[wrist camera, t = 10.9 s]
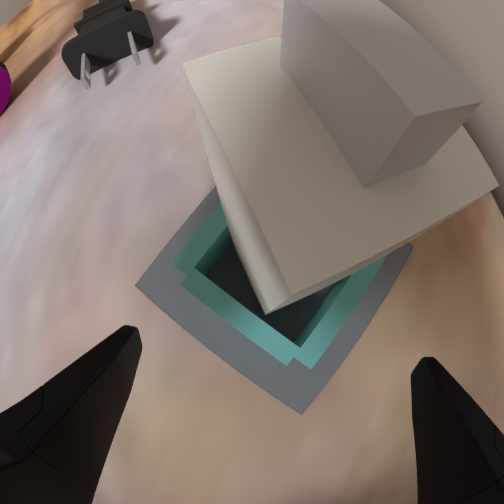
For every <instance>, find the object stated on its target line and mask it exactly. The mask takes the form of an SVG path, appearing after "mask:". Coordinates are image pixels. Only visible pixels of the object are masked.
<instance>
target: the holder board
mask: <svg viewBox="0 0 504 504" xmlns="http://www.w3.org/2000/svg"><path fill="white" fill-rule="evenodd" d="M412 249H413V246H412V245H411V244H410V243H407V244H405V245H403V246H401V247H400V248H398V249H396V250H394V251H393V252H391V253H389V254H387V255H386V256H384V257H382V258H380V259H378V260H377V261H375V262H373V263H371V264H369V265H367V266H366V267H364V268H362V269H360V270H358V271H356V272H354V273H353V274H351V275H349V276H347V277H345V278H343V279H341V280H339V281H337V282H336V283H334V284H332V285H330V286H328V287H326V288H324V289H321V290H319V291H317V292H315V293H313V294H311V295H309V296H307V297H305V298H302V299H300V300H298V301H296V302H294V303H292V304H289V305H287V306H285V307H283V308H281V309H278V310H276V311H274V312H272V313H269V314H267V315H265V316H264V314H263V312H262V310H261V307H260V305H259V303H258V301H257V298H256V296H255V294H254V291H253V289H252V287H251V285H250V282H249V280H248V278H247V276H246V273H245V271H244V269H243V266H242V264H241V262H240V260H239V257H238V255H237V253H236V250H235V248H234V244H233V241H232V238H231V234H230V231H229V228H228V225H227V221H226V218H225V215H224V211H223V208H222V205H221V201H220V198H219V194H218V191H217V188H216V186H215V187H214V189H213V190H212V191H211V192H210V193H209V194H208V195H207V197H206V198H205V199H204V200H203V201H202V202H201V204H200V205H199V206H198V207H197V208H196V210H195V211H194V212H193V213H192V214H191V215H190V217H189V218H188V219H187V220H186V221H185V223H184V224H183V225H182V226H181V228H180V229H179V230H178V231H177V232H176V234H175V235H174V236H173V237H172V239H171V240H170V241H169V242H168V244H167V245H166V246H165V247H164V249H163V250H162V251H161V252H160V254H159V255H158V256H157V257H156V259H155V260H154V261H153V262H152V264H151V265H150V266H149V268H148V269H147V270H146V272H145V273H144V274H143V275H142V277H141V278H140V279H139V281H138V282H137V283H136V285H135V286H136V287H137V288H138V289H139V290H140V291H141V292H142V293H143V294H144V295H146V296H147V297H148V298H149V299H150V300H151V301H152V302H153V303H154V304H156V305H157V306H158V307H159V308H160V309H161V310H162V311H164V312H165V313H166V314H167V315H168V316H169V317H171V318H172V319H173V320H174V321H175V322H176V323H178V324H179V325H180V326H181V327H182V328H184V329H185V330H186V331H187V332H188V333H190V334H191V335H192V336H193V337H194V338H196V339H197V340H198V341H199V342H201V343H202V344H203V345H204V346H206V347H207V348H208V349H209V350H211V351H212V352H213V353H215V354H216V355H217V356H218V357H220V358H221V359H222V360H224V361H225V362H226V363H228V364H229V365H230V366H232V367H233V368H234V369H236V370H237V371H238V372H240V373H241V374H242V375H244V376H245V377H247V378H248V379H249V380H251V381H252V382H254V383H255V384H256V385H258V386H259V387H261V388H262V389H263V390H265V391H266V392H268V393H269V394H271V395H272V396H274V397H275V398H277V399H278V400H280V401H281V402H283V403H284V404H286V405H287V406H289V407H290V408H292V409H293V410H295V411H296V412H298V413H299V414H301V415H302V414H303V413H304V412H305V411H306V409H307V408H308V407H309V406H310V404H311V403H312V402H313V401H314V399H315V398H316V397H317V396H318V394H319V393H320V392H321V391H322V389H323V388H324V387H325V386H326V384H327V383H328V382H329V380H330V379H331V378H332V376H333V375H334V374H335V372H336V371H337V370H338V368H339V367H340V365H341V364H342V363H343V361H344V360H345V359H346V357H347V356H348V354H349V353H350V351H351V350H352V349H353V347H354V346H355V344H356V343H357V341H358V340H359V338H360V337H361V335H362V334H363V332H364V331H365V329H366V328H367V326H368V325H369V323H370V322H371V320H372V318H373V317H374V315H375V314H376V312H377V310H378V309H379V307H380V306H381V304H382V302H383V301H384V299H385V297H386V296H387V294H388V292H389V291H390V289H391V287H392V285H393V284H394V282H395V280H396V278H397V277H398V275H399V273H400V271H401V269H402V268H403V266H404V264H405V262H406V260H407V258H408V256H409V254H410V253H411V251H412Z"/></svg>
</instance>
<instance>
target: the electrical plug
mask: <svg viewBox="0 0 504 504" xmlns="http://www.w3.org/2000/svg"><path fill="white" fill-rule="evenodd" d="M83 14H84V15H83V19H82V20H80V21H78V22H76V23H74V27H75V29H76V31H77V33H78V36H76V37H74V38H72V39H71V40H69V41H68V42H67V43H66V44H65V45H64V46H63V49H62V59H63V61H64V62H65V64H66V66H67V67H68V69H69V70H70V72H71V74H72V75H73V76H74V77H75V78H76V79H78V80H80V79H81V81H82V82H83V84H84V86H85V87H86V89H89V88H91V87H90V74H91V73H93V72H95V71H97V70H99V69H101V68H103V67H105V66H107V65H109V64H112V63H114V62H116V61H118V60H120V59H122V58H125V57H127V56H129V55H133V58H134V60H135V62H136V65H139V64H141V63H140V59H139V56H138V52H139V51H141V50H144V49H146V48H149V47H151V46H152V45H153V36H152V33H151V30H150V27H149V24H148V21H147V19H146V16H145V14H144V13H143V12H142V11H139V10H132V7H131V4H130V1H129V0H99V3H98V4H96V5H94V6H92V7H90V8H88V9H86V10H84V13H83Z"/></svg>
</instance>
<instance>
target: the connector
mask: <svg viewBox="0 0 504 504" xmlns="http://www.w3.org/2000/svg"><path fill="white" fill-rule="evenodd" d="M181 65H182V69H183V73H184V76H185V80H186V83H187V87H188V91H189V94H190V98H191V101H192V105H193V108H194V112H195V115H196V119H197V122H198V126H199V129H200V133H201V136H202V140H203V143H204V147H205V150H206V154H207V157H208V160H209V164H210V167H211V171H212V174H213V178H214V181H215V184H216V188H217V191H218V194H219V198H220V201H221V205H222V208H223V211H224V215H225V218H226V221H227V225H228V228H229V231H230V234H231V238H232V241H233V244H234V248H235V250H236V253H237V255H238V257H239V260H240V262H241V264H242V266H243V269H244V271H245V273H246V276H247V278H248V280H249V282H250V285H251V287H252V289H253V291H254V294H255V296H256V298H257V301H258V303H259V305H260V307H261V310H262V312H263V314H264V316H265V315H267V314H269V313H272V312H274V311H276V310H278V309H281V308H283V307H285V306H287V305H289V304H292V303H294V302H296V301H298V300H300V299H302V298H305V297H307V296H309V295H311V294H313V293H315V292H317V291H319V290H321V289H324V288H326V287H328V286H330V285H332V284H334V283H336V282H337V281H339V280H341V279H343V278H345V277H347V276H349V275H351V274H353V273H354V272H356V271H358V270H360V269H362V268H364V267H366V266H367V265H369V264H371V263H373V262H375V261H377V260H378V259H380V258H382V257H384V256H386V255H387V254H389V253H391V252H393V251H394V250H396V249H398V248H400V247H401V246H403V245H405V244H407V243H408V242H410V241H412V240H413V239H415V238H417V237H419V236H420V235H422V234H424V233H425V232H427V231H429V230H430V229H432V228H434V227H435V226H437V225H438V224H440V223H442V222H443V221H445V220H447V219H448V218H450V217H451V216H453V215H455V214H456V213H458V212H459V211H461V210H462V209H464V208H466V207H467V206H469V205H470V204H472V203H473V202H475V201H476V200H478V199H479V198H481V197H482V196H484V195H485V194H487V193H488V192H490V191H491V190H493V189H494V188H496V187H497V186H498V185H499V184H498V182H497V180H496V179H495V177H494V175H493V173H492V171H491V170H490V168H489V166H488V164H487V163H486V161H485V159H484V158H483V156H482V154H481V153H480V151H479V150H478V148H477V146H476V145H475V143H474V142H473V140H472V139H471V137H470V136H469V134H468V133H467V131H466V130H465V128H464V127H463V125H462V124H463V123H464V122H465V121H466V120H467V119H468V117H469V116H470V115H471V114H472V113H473V112H474V111H475V109H476V108H477V107H478V106H479V105H480V104H481V101H480V99H479V98H478V97H477V96H476V94H475V93H474V92H473V90H472V89H471V88H470V87H469V86H468V84H467V83H466V82H465V81H464V80H463V78H462V77H461V76H460V75H459V74H458V73H457V72H456V70H454V68H453V67H452V66H451V65H450V64H449V63H448V62H447V61H446V60H445V59H444V58H443V57H442V55H440V53H439V52H438V51H437V50H436V49H435V48H433V46H432V45H430V43H429V42H428V41H427V40H425V39H424V38H423V37H422V36H421V35H420V34H419V33H418V32H417V31H416V30H414V29H413V28H412V27H411V26H410V25H409V24H408V23H406V22H405V21H404V20H403V19H402V18H401V17H399V16H398V15H397V14H396V13H394V12H393V11H392V10H391V9H389V8H388V7H387V6H385V5H384V4H383V3H381V2H380V1H379V0H284V11H283V26H282V36H280V37H275V38H270V39H265V40H261V41H256V42H252V43H248V44H244V45H240V46H236V47H232V48H229V49H225V50H222V51H218V52H215V53H212V54H208V55H205V56H202V57H199V58H196V59H193V60H190V61H187V62H185V63H182V64H181Z"/></svg>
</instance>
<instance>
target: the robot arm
mask: <svg viewBox="0 0 504 504" xmlns="http://www.w3.org/2000/svg"><path fill="white" fill-rule="evenodd" d="M141 352H142V342H141V338H140V334H139V330H138V328H137V327H134V326H130V325H124V326H122V327H121V328H119V329H118V330H117V331H115V332H114V333H113V334H111V335H110V336H108V337H107V338H106V339H104V340H103V341H102V342H100V343H99V344H97V345H96V346H95V347H93V348H92V349H91V350H89V351H88V352H87V353H85V354H84V355H82V356H81V357H80V358H78V359H77V360H76V361H74V362H73V363H72V364H70V365H69V366H68V367H66V368H65V369H63V370H62V371H61V372H59V373H58V374H57V375H55V376H54V377H53V378H51V379H50V380H49V381H47V382H46V383H45V384H44V385H43V386H41V387H39V388H38V389H37V390H35V391H34V392H33V393H31V394H30V395H28V396H27V397H25V398H24V399H23V400H21V401H19V402H18V403H16V404H15V405H13V406H12V407H10V408H8V409H7V410H5V411H3V412H1V413H0V504H92V501H93V498H94V495H95V494H94V493H95V491H96V488H97V485H98V482H99V479H100V476H101V473H102V470H103V467H104V464H105V461H106V458H107V455H108V452H109V449H110V446H111V444H112V441H113V438H114V435H115V432H116V430H117V427H118V424H119V422H120V419H121V416H122V414H123V411H124V408H125V406H126V403H127V401H128V398H129V395H130V392H131V389H132V386H133V382H134V378H135V374H136V370H137V367H138V363H139V359H140V356H141ZM411 395H412V420H413V429H414V439H415V451H416V465H417V486H418V504H504V435H503V433H502V432H501V431H500V430H499V429H498V427H497V426H496V425H494V423H493V422H492V420H491V419H490V418H489V417H488V416H487V415H486V414H485V412H484V411H483V410H482V409H481V408H480V407H479V405H478V404H477V403H476V402H475V401H474V400H473V399H472V398H471V396H470V395H469V394H468V393H467V392H466V391H465V390H464V389H463V388H462V386H461V385H460V384H459V383H458V382H457V381H456V380H455V379H454V378H453V377H452V376H451V375H450V373H449V372H448V371H447V370H446V369H445V368H444V367H443V366H442V365H441V364H440V363H439V362H438V361H437V360H436V359H435V358H434V357H423V358H422V359H421V360H420V361H419V363H418V364H417V366H416V367H415V369H414V370H413V371H412V374H411Z"/></svg>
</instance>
